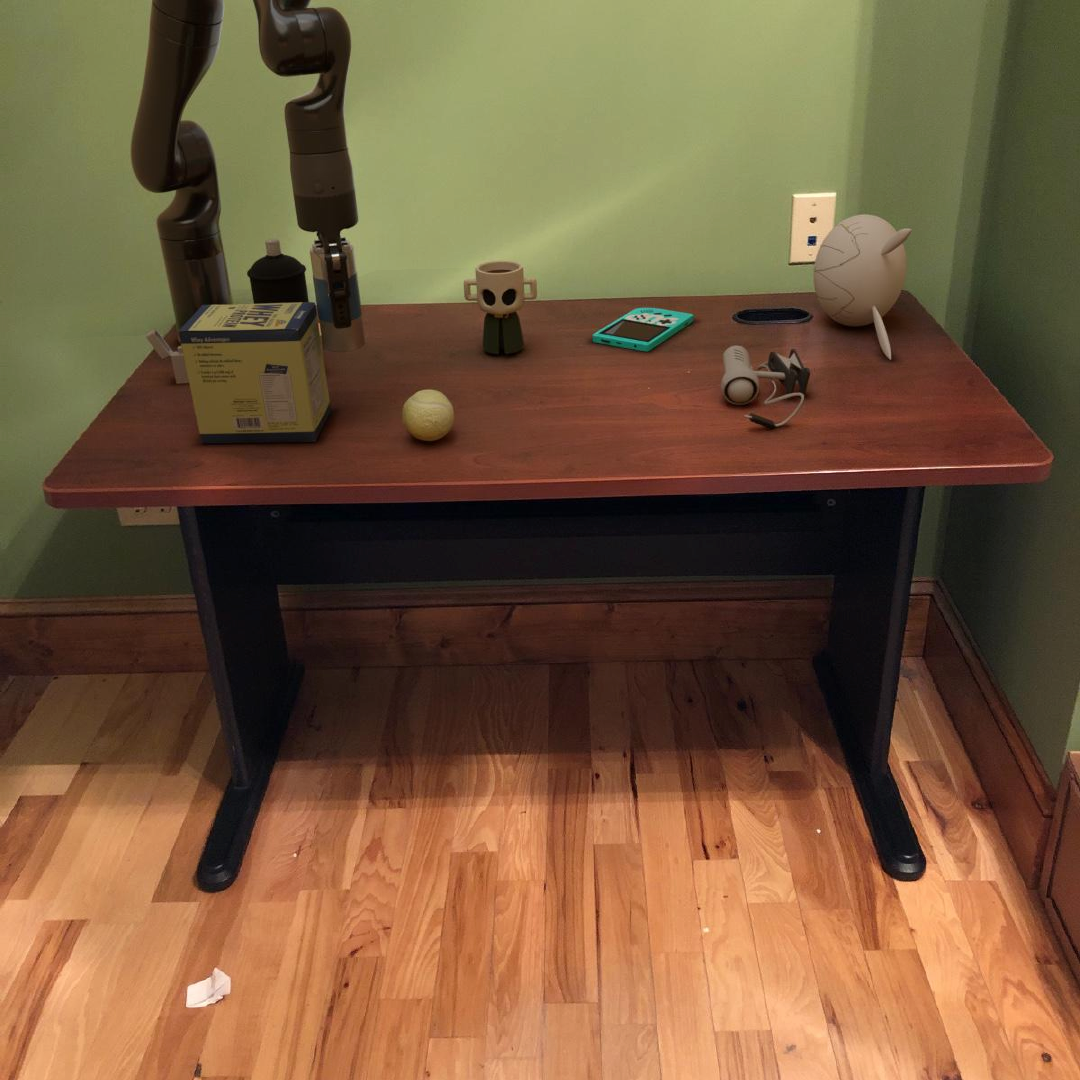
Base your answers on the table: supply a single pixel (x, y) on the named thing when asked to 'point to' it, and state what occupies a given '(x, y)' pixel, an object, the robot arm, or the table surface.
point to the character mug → (501, 303)
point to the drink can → (330, 335)
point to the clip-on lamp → (744, 382)
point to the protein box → (256, 372)
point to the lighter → (166, 351)
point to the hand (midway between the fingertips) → (340, 319)
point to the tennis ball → (428, 415)
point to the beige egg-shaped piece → (861, 272)
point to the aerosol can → (277, 277)
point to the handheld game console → (643, 328)
